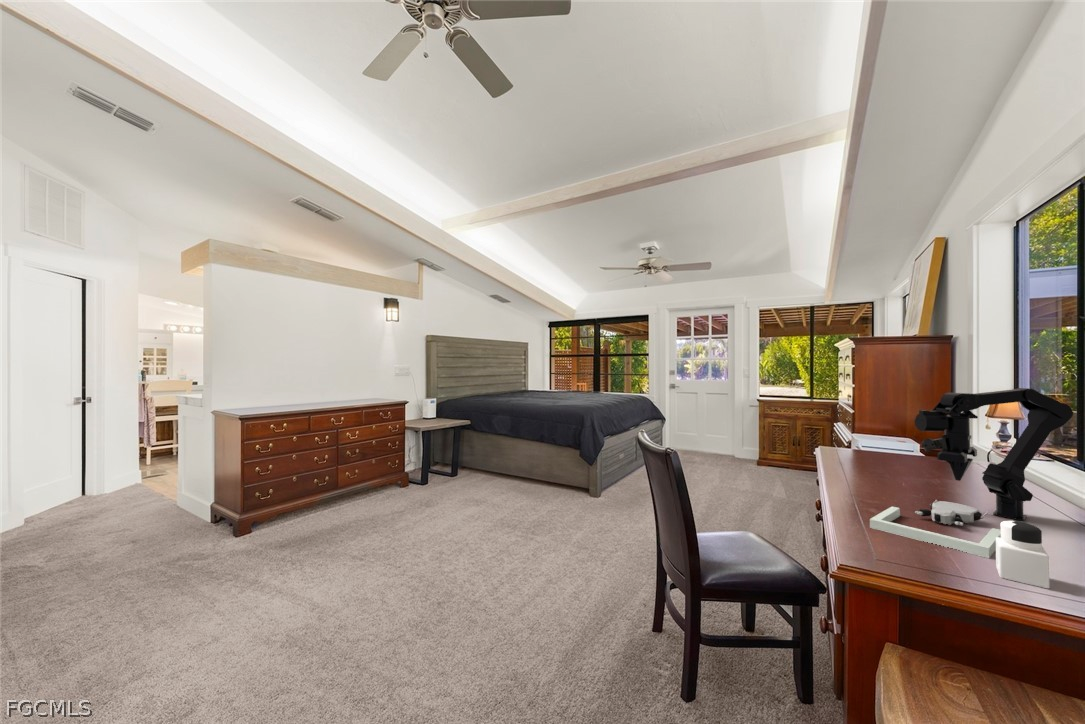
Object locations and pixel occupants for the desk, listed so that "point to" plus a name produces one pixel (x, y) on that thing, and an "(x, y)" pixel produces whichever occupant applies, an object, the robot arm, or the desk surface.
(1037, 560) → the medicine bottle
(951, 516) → the robot toy
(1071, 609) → the desk surface
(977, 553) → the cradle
